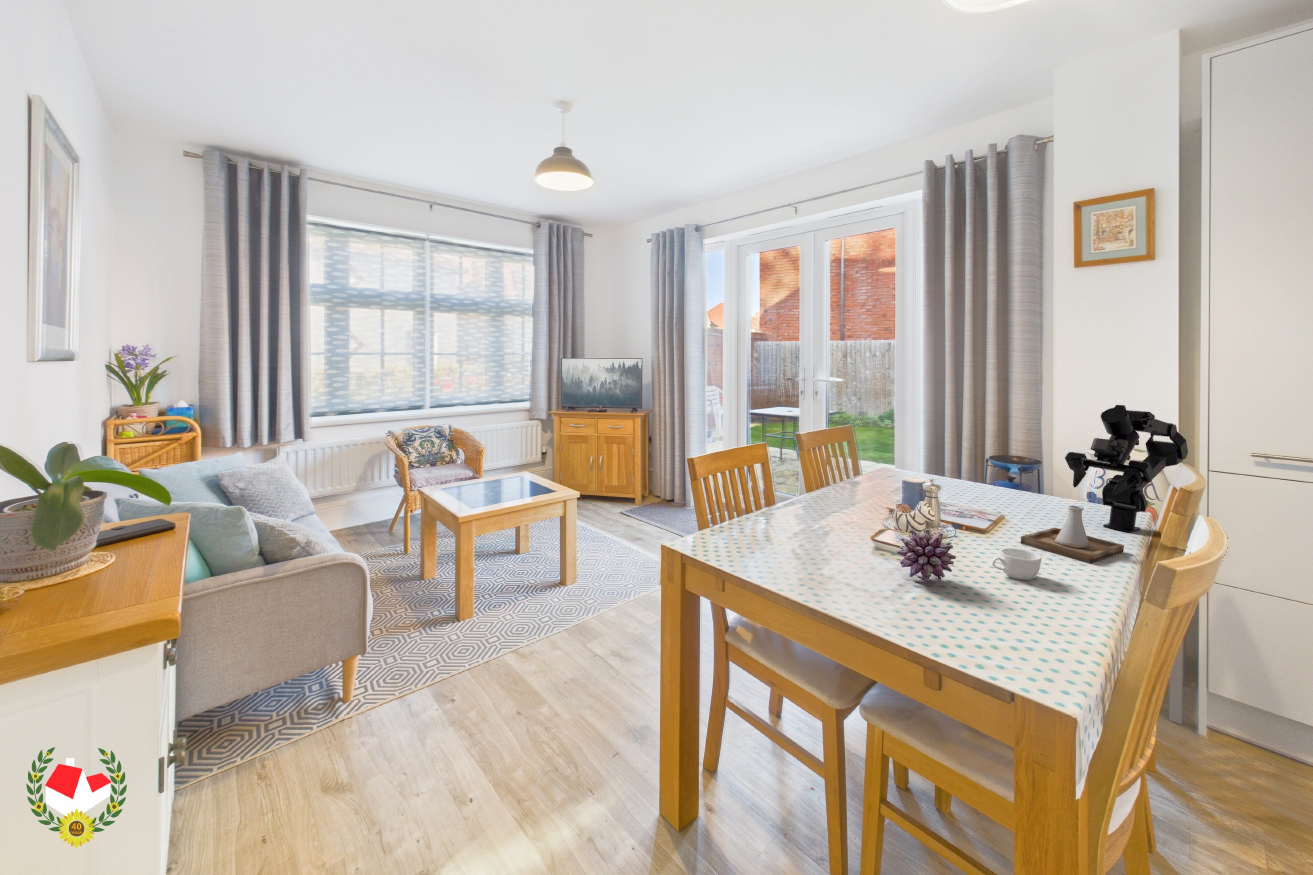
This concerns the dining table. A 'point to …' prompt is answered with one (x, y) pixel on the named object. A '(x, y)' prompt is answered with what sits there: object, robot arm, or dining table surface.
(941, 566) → the flower
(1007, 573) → the teacup
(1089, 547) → the walnut tray
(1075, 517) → the flask
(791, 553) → the dining table surface
